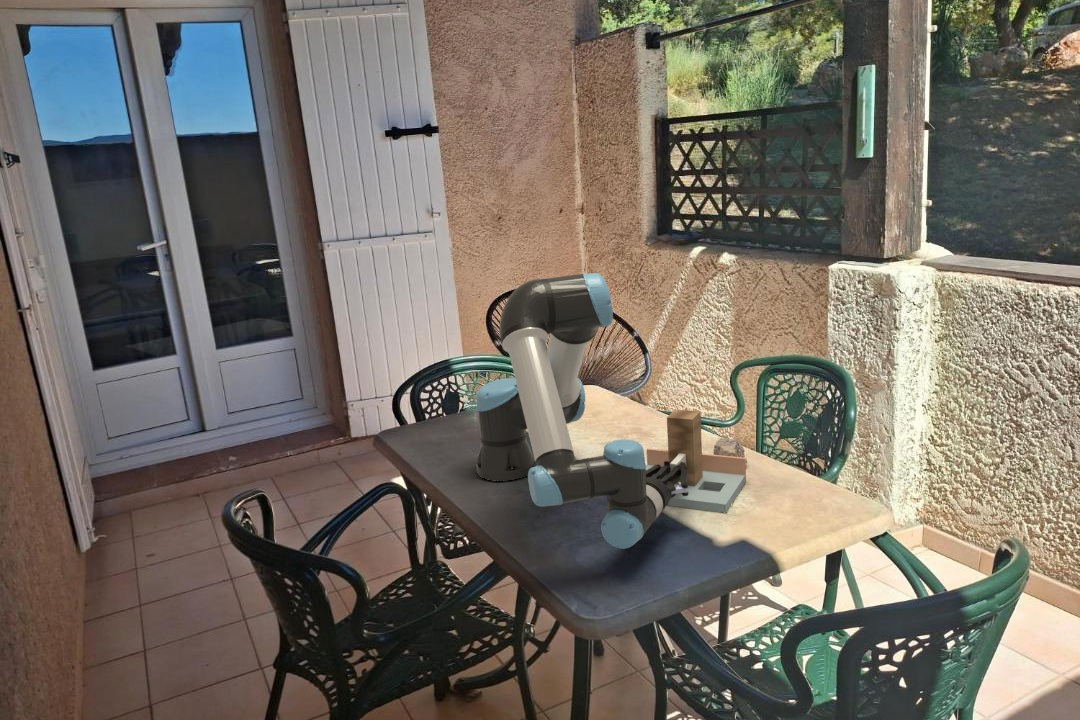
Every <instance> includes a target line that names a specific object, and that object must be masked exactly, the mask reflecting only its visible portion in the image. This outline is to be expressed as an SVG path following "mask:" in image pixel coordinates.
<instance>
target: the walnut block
mask: <svg viewBox="0 0 1080 720" xmlns="http://www.w3.org/2000/svg"><path fill="white" fill-rule="evenodd" d="M701 419H702V418H701V411H699V410H687V409H674V410H673V411H672V412H671V413H670V414H669V415H668V416H667V417H666V431H667V448H668V449H667V450H668V455H669V462H670V461H673V460H674V459H675V458H676V457H677V455H678V454H679V453H681V454H686V467H687V468H688V486H696V485H697V483H698V482H699V481H700V479H701V478H702V477H703V470H702V454H703V449H702V448H703V447H702V445H703V444H702V421H701ZM679 482H680V480H678V481H677V482H676V484H678V483H679Z"/></svg>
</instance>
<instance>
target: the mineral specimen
mask: <svg viewBox="0 0 1080 720" xmlns="http://www.w3.org/2000/svg"><path fill="white" fill-rule="evenodd" d="M713 455H722V456H732V457H742V458H746V457H745V449H744V447H743V445H742V444H741V442H740V441H739V440H738V439H736V438H735V439H734V438H726V437H725V438H722V437H721V438H719V440H718V441H716V443H715V444H714V445H713ZM747 463H748V460H747V458H746V464H747Z"/></svg>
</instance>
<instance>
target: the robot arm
mask: <svg viewBox="0 0 1080 720" xmlns="http://www.w3.org/2000/svg"><path fill="white" fill-rule="evenodd" d="M613 312H614V311H613V304H612V298H611V294H610V290H609V286H608V283H607V282H606V279H605V278H604V276H603V275H601V274H600V273H596V272H593V273H586V272H583V273H579V274H571V275H564V276H555V277H548V278H536V279H531V280H528V281H526V282H524V283H523V284H521V285H519V286H518V287H517V288H515V290H514V291H512V293H511V294H510V296H509V297H508V299H507V301H506V302H505V304H504V306H503V309H502V312H501V315H500V319H499V338H500V343H501V346H502V350H503V351H505V352H506V353H508V354H509V360H510V362H511V363H510V364H511V366H512V367H511V368H512V371H513V375H514V377H509V378H508V377H504V378H500V379H496V380H493V381H490V382H488V383H486V384H483V385H482V386H481V387H480V388H478V391H477V392H476V411H477V415H478V417H477V419H478V426H479V437H480V447H479V448H480V449H479V452H478V457H477V460H476V461H477V462H476V474H477V473H478V475H479V476H481V477H482V478H485V479H489V480H496V481H497V480H498V481H503V480H504V482H507V481H506V480H513V479H518V478H521V479H523V478H522V477H524V478H526V477H525V476H527V481H528V489H529V494H530V497H531V500H532V502H533V504H534V505H536V506H537V507H541V508H542V507H551V506H561V505H563V504H570V503H574V502H575V503H576V502H579V501H583V500H591V499H597V498H602V497H607V513H606V514H605V516H604V517H603V519H602V521H601V525H600V529H601V534H602V536H603V538H604V540H605V541H606V542H607V543H608V544H609V545H611V546H612V547H613V548H616V549H622V550H625V549H630V548H631V547H633V546H634V545H636V543H637V542H639V541H640V540H641V539H642V538H643V536H644V534H646V532H647V531H648V530H649V528H650V527H651V526H652V525H653V523H654V522H655V521H656V520H657V518H658V517H659V516H660V515H661V513H662V512H663V511H664V510H665V509H666V507H667V505H668V503H669V501H670V498H672V497H675V495H676V494H677V493H679V494H682V495H683V496H688V468H687V467H686V454H681V453H679V454H678V455H677V457H676V458H675V459H674V460H673V461H670V462H669V461H664V466H661V465H659V464H657V465H655V466H653V467H651V468H650V469H648V470H646V465H647V463H646V459H645V458H646V457H645V456H646V455H645V451H644V448H643V445H642V444H641V443H639V442H638V441H637V440H633V439H627V438H626V439H625V438H624V439H616V440H615V439H614V440H612V441H609V442H607V443H606V444H605V445H604V449H603V453H602V454H603V455H599V456H593V457H587V458H580V459H577V458H576V456H575V452H574V448H573V445H572V439H571V437H570V433H569V430H568V424H569V423H570V424H571V423H573V422H577V421H579V420H581V418H582V417H583V415H584V412H585V409H586V404H585V403H586V392H585V388H584V385H583V382H582V381H581V379H580V378H579V373H580V372H581V371H580V370H581V366H582V364H583V360H584V357H585V353H586V350H587V345H588V343H589V342H591V341H592V340H593V339H594V338H595V337H596V335H597V334H598V331H599V328H606V327H608V326H611V325H612V322H613V320H614V313H613ZM549 334H550V335H549ZM547 342H548V345H547V346H546V344H547ZM526 432H527V433H526ZM527 434H528V436H529V441H530V445H531V447H530V445H529V443H528V442H529V441H528V440H527ZM478 475H477V476H478ZM479 476H478V477H479ZM482 478H481V479H482ZM518 480H519V479H518ZM678 480H680V482H679V483H678V486H677V487H676V488H675V486H674V485H675V484H676V482H677V481H678ZM513 481H514V480H513Z"/></svg>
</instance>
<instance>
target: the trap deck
mask: <svg viewBox="0 0 1080 720" xmlns="http://www.w3.org/2000/svg"><path fill="white" fill-rule="evenodd" d="M746 459H747V458H746V457H745V458H742V457H732V456H722V455H714V454H712V453H711V454H709V453H702V470H703V477H702V478H701V479H700V481H699V482H698V483H697V485H696V486H688V496H683V495H682V494H679V493H677V494H676V495H675V497H672V498H670V501H669V503H668V505H670V506H669V507H675V506H677V507H676V508H685V509H693V510H698V509H699V511H706V510H707V511H709V512H714V511H716V512H715V513H721V512H725V513H724V514H727V513H728V511H729V509H730V508H731V506H732V505H733V503H734V502H733V501H735V500H736V498H737V497H738V495H739V494H740V492H741V491H742V489H743V488H744V486H745V485H746V482H747V467H746V465H747V463H746ZM664 461H669V455H668V449H667V450H665V449H660V448H658V449H656V448H649V447H648V448H646V462H647V463H646V470H648V469H650V468H651V467H653V466H655V465H657V464H659V465H661V466H664ZM674 486H675V488H676V487H677V486H678V484H675V485H674ZM731 504H732V505H731ZM729 507H730V508H729Z"/></svg>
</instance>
